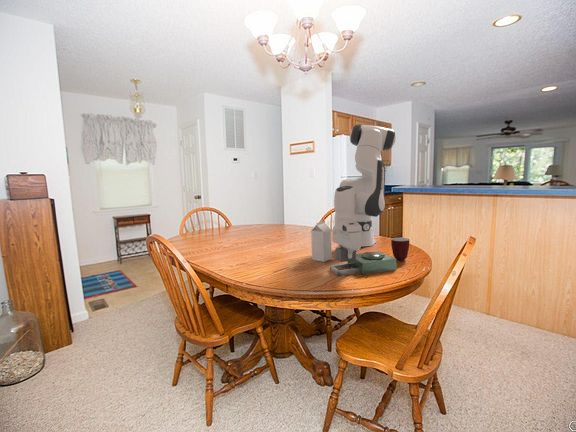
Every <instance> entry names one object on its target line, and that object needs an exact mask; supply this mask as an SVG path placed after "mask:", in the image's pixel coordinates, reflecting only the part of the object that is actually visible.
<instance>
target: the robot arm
mask: <svg viewBox="0 0 576 432" xmlns="http://www.w3.org/2000/svg"><path fill="white" fill-rule="evenodd" d="M349 140H350V144H351V145H354V146H355V147H356V150H355V154H354V162H355V169H356V171H358V173H360V174H361V176H360V177H351V178H345V179H343V180H341V182H340V184H339V185H338V187H337V188H335V190H334V197H333V199H334V200H333V201H334V202H333V206H334V207H333V208H334V213H335V214H334V224H333V227H332V234H331V240H332V242H334V243H336V244H338V248H341V247H346V248H347V250H348V254H347V258H349V259H350V258H352V253H353V251H356V252H357V251H359V250H361V249H362V248H361V247H363V248H364V247H371V246H374V245H375V243H377V241H376V240H375V233H374V229H373V228H372V226H373V223H372V221H373V220H372V217H375V218H376V217H377V218H378V216H380V215H382V213H383V212H384V211H385V207H386V199H385V190H386V188H385V186H386V185H385V184H386V165H385V162H384V161H383V159H381V154H382V151H389V150H391V149H392V148H393V147H394V145H395V143H396V132H395V130H394V129H392V128H386V127H383V126H378V125H371V124H370V125H366V124H361V123H360V124H354V125H353V127H352V129H351V130H350V133H349Z"/></svg>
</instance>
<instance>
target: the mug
mask: <svg viewBox="0 0 576 432" xmlns="http://www.w3.org/2000/svg"><path fill="white" fill-rule="evenodd" d="M390 242H391V251H392V254H393V258H396V261H399V262H402V261H405V260H406V258H407V256H408V255H409V251H410V250H409V248H410V239H409V238H407V237H392V238H391V240H390Z"/></svg>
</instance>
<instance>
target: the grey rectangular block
mask: <svg viewBox="0 0 576 432" xmlns="http://www.w3.org/2000/svg"><path fill="white" fill-rule="evenodd" d="M347 254H348V250H347V248H346V247H341V248H339V247H336V248H335V260H336V261H338V262H340V263H345V262H346V263H347V261H355V260H356V254H357V250H356V251H353V253H352V258H350V259H349V258H347Z"/></svg>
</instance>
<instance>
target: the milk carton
mask: <svg viewBox="0 0 576 432" xmlns="http://www.w3.org/2000/svg"><path fill="white" fill-rule="evenodd" d="M310 232H311V233H310V234H311V235H310V236H311V237H310V238H311V239H310V240H311V260H312V261H316V262H322V263H325V262H327V261H330V260H331V259H332V258H333V257H332V251H333V250H332V228H331V227H329V226H328V225H327V223H326V221H325V220H322V221H319V222H316V224H315V225H314V227H313V228H312V229H311V230H310Z"/></svg>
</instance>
